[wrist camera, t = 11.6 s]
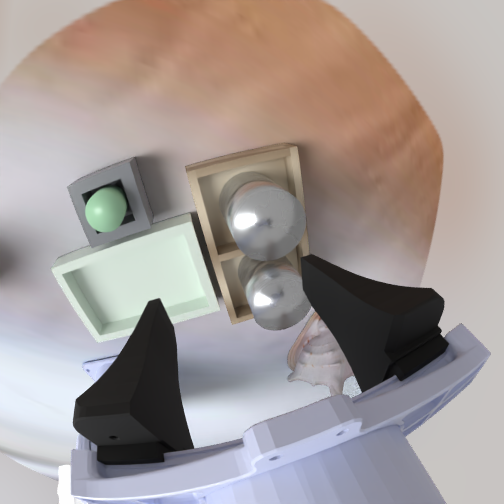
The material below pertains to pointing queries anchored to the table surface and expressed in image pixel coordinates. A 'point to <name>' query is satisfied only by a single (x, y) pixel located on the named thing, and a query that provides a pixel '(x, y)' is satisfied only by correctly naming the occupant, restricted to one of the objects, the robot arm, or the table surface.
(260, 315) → the billet
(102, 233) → the frame
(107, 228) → the button
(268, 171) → the divided tray
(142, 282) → the pale green tray
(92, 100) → the table surface
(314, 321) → the seashell
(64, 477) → the basket
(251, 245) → the cylinder
